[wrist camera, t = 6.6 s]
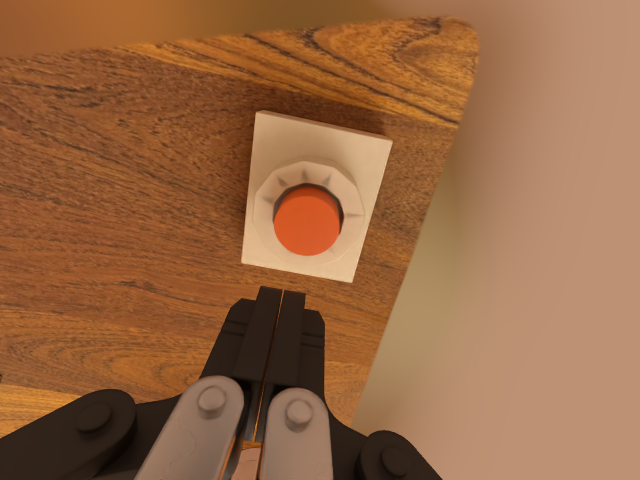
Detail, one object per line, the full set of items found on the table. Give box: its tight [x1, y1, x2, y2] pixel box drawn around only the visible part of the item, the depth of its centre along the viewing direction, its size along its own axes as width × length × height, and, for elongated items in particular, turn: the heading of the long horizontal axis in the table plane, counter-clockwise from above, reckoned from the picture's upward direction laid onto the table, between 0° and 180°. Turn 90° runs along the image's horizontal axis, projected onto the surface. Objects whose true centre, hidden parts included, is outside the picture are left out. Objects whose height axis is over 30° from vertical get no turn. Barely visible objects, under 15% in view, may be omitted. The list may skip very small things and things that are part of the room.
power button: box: [274, 187, 340, 256], centre depth 18 cm, size 4×4×2 cm
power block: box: [241, 110, 393, 283], centre depth 20 cm, size 10×8×4 cm
